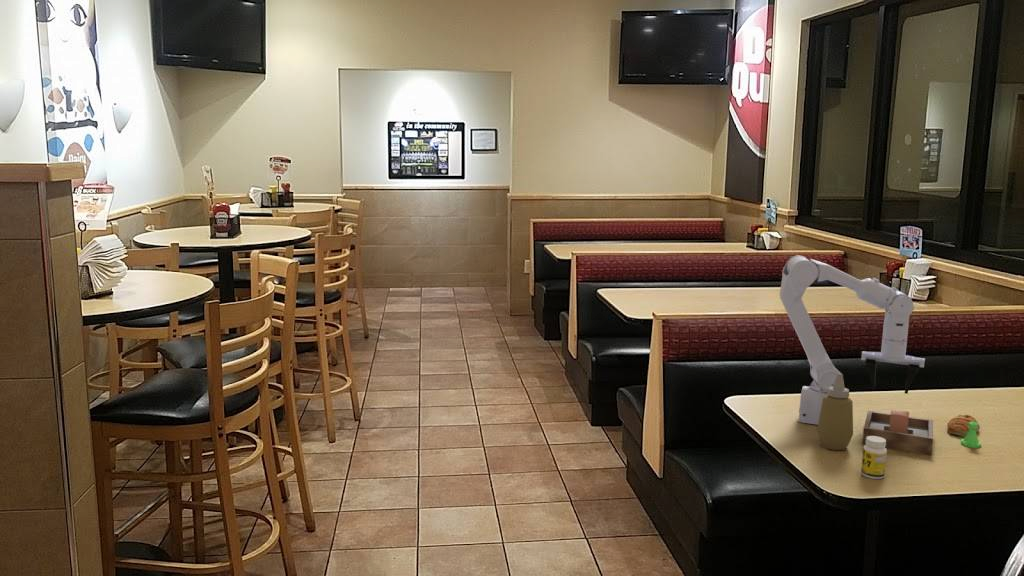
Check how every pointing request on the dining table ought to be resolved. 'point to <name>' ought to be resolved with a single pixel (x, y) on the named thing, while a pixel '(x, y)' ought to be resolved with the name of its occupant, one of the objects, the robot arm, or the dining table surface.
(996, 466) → the dining table surface
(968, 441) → the game piece
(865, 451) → the supplement bottle
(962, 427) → the pastry
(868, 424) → the socket box
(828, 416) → the squeeze bottle
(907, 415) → the peg
